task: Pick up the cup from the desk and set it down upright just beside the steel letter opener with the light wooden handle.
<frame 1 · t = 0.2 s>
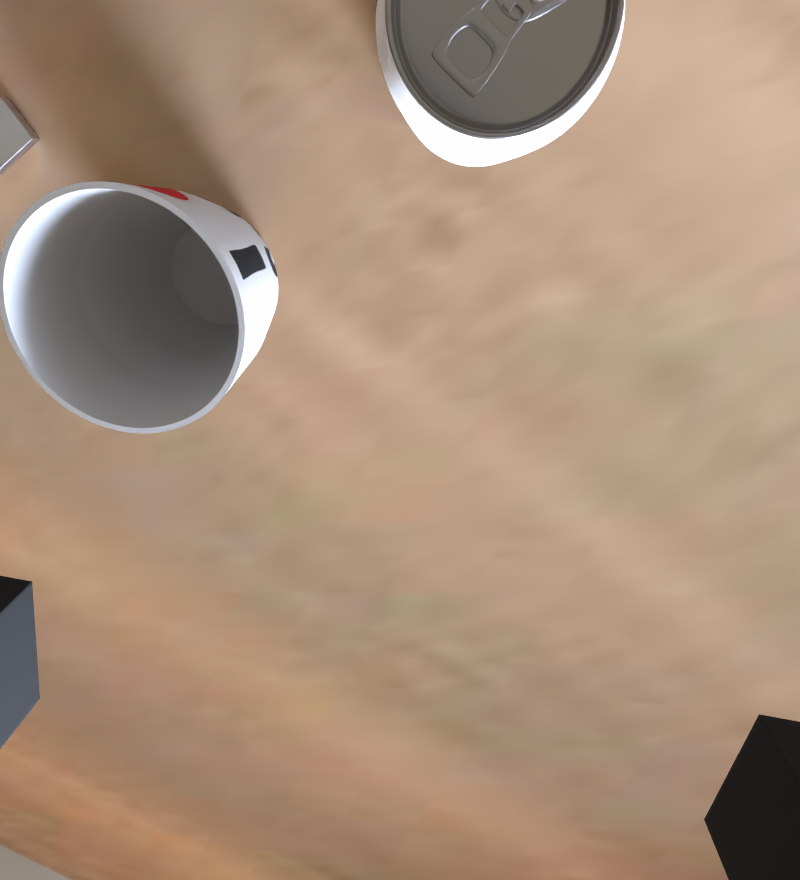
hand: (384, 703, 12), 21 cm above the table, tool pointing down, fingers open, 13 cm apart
cup: (223, 274, 30), on the table
can: (478, 82, 26), on the table
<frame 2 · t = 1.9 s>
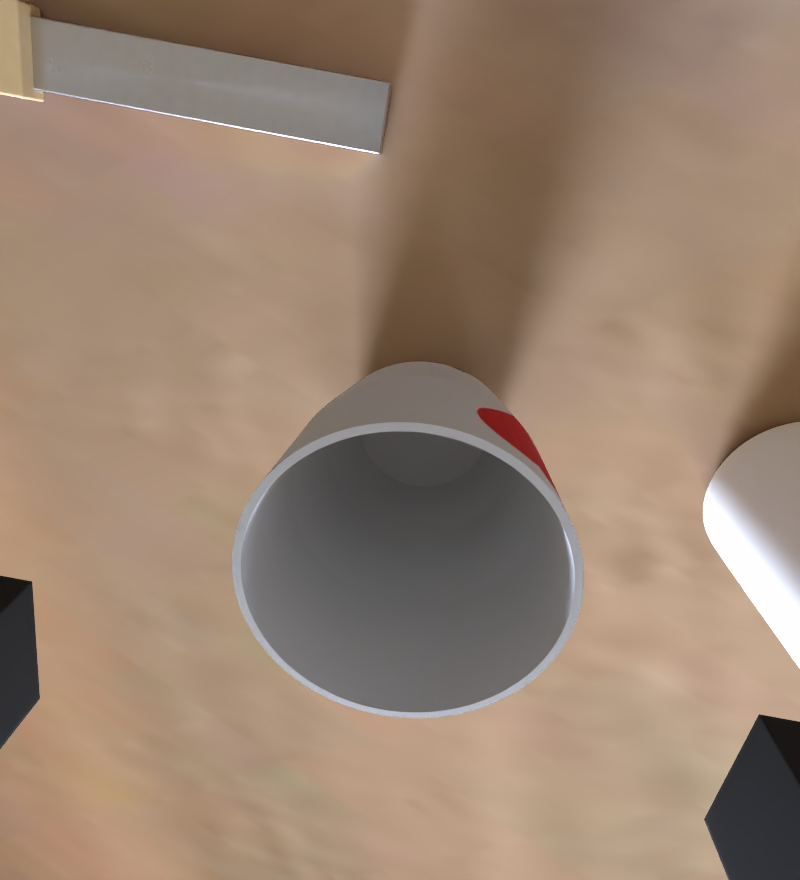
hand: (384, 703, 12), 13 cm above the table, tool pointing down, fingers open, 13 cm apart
cup: (422, 426, 24), on the table
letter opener: (105, 68, 20), on the table
can: (785, 493, 24), on the table
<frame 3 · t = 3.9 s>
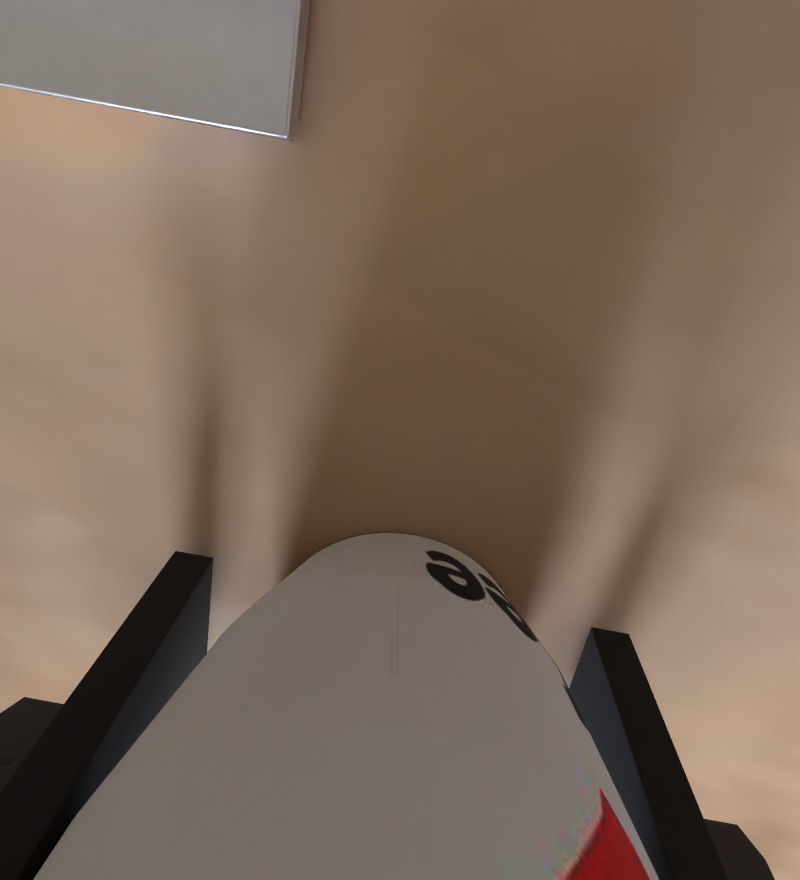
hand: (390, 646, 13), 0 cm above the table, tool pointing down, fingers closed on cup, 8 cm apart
cup: (392, 631, 13), on the table, touching gripper
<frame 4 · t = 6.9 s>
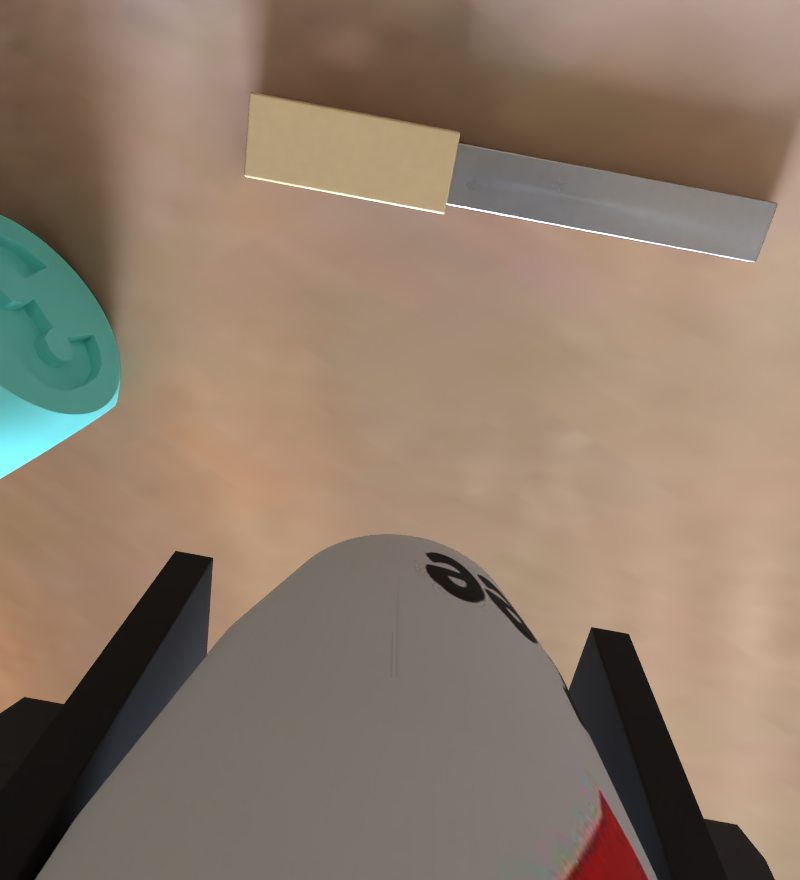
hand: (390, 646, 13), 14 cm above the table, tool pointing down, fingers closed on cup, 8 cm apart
cup: (392, 632, 13), point 13 cm above the table, touching gripper
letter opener: (508, 184, 22), on the table
decorative dice: (22, 337, 26), on the table
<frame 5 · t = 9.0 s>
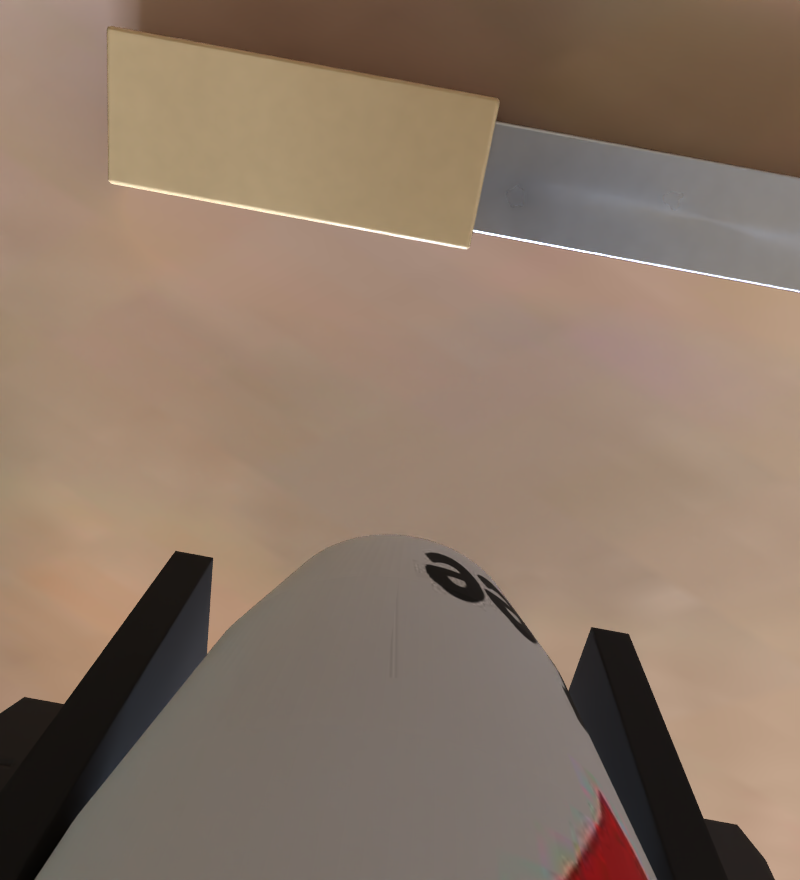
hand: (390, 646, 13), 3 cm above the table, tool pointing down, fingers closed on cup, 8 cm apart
cup: (392, 632, 13), point 3 cm above the table, touching gripper
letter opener: (579, 196, 13), on the table
when the fingers open (0 cm above the table, at t = 10.3 s): cup stays where it is, on the table.
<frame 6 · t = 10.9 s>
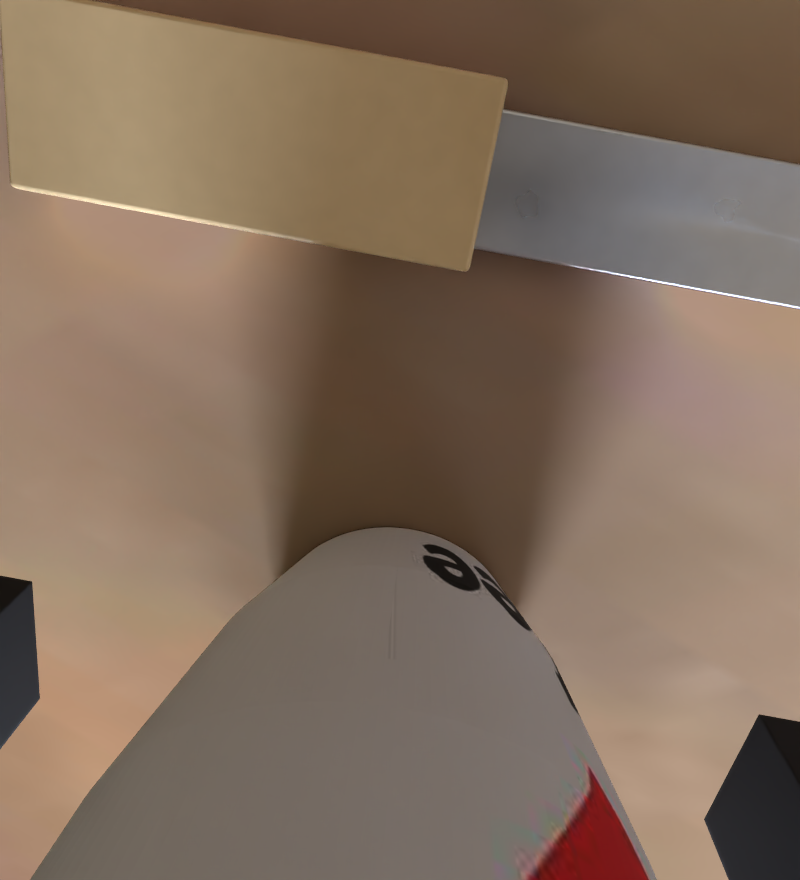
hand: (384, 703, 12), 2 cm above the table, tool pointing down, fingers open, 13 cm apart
cup: (390, 623, 14), on the table
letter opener: (606, 204, 10), on the table
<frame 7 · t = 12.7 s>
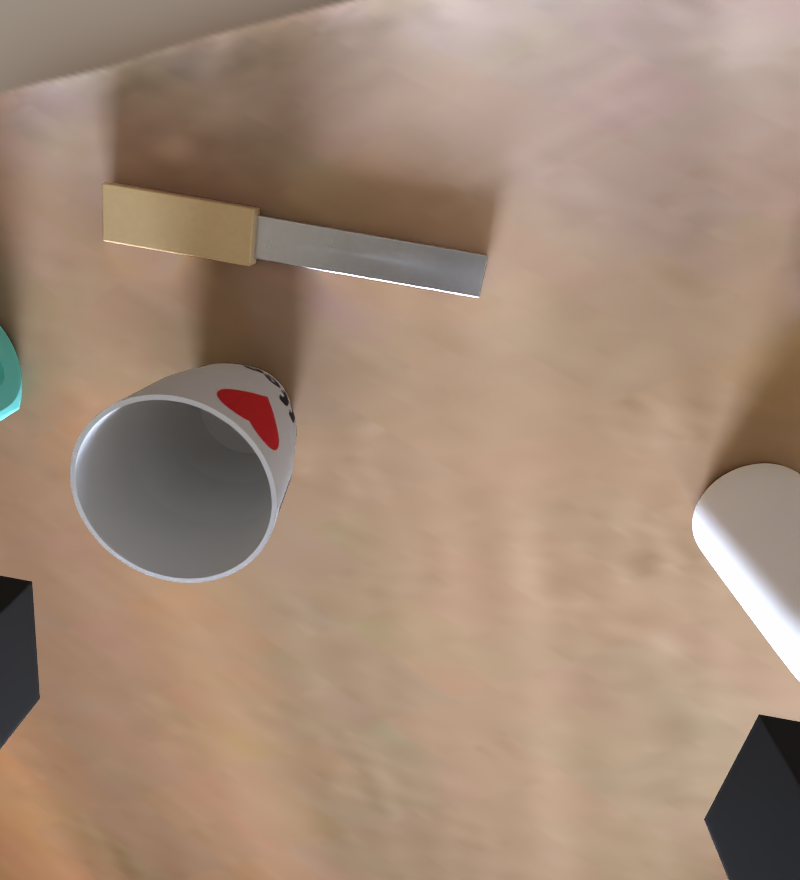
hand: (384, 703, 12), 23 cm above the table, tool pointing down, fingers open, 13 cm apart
cup: (245, 409, 34), on the table
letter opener: (299, 243, 30), on the table
can: (748, 511, 35), on the table
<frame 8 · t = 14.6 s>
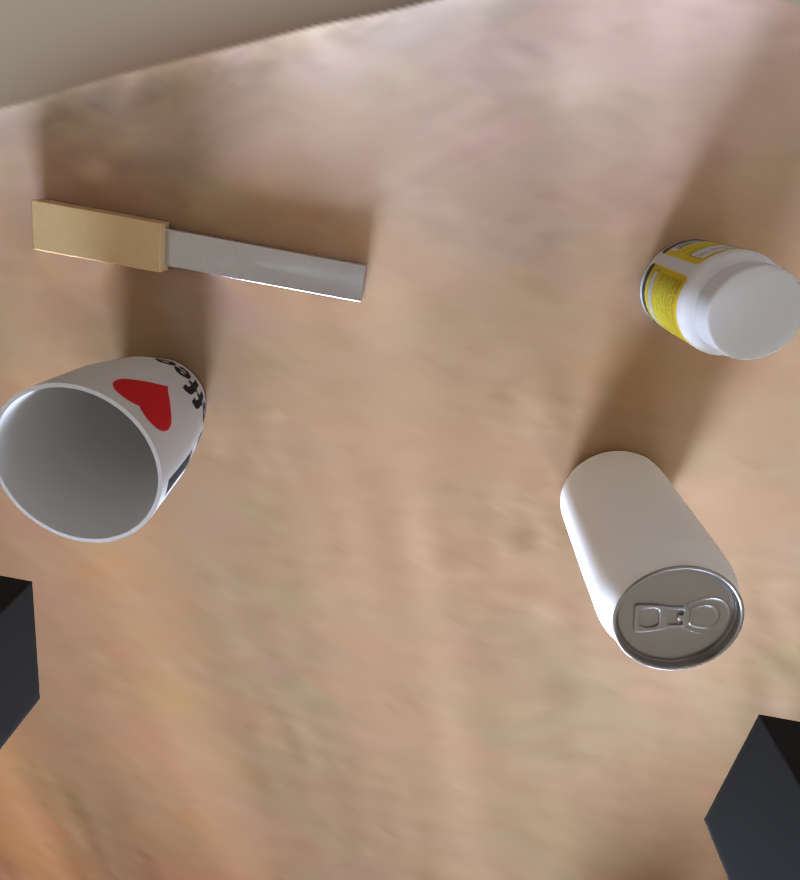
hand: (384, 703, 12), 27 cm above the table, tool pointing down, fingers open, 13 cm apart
cup: (166, 397, 39), on the table
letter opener: (204, 253, 35), on the table
supplement bottle: (682, 283, 34), on the table
can: (611, 494, 39), on the table
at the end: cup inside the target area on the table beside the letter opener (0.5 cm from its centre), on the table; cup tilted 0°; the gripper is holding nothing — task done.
